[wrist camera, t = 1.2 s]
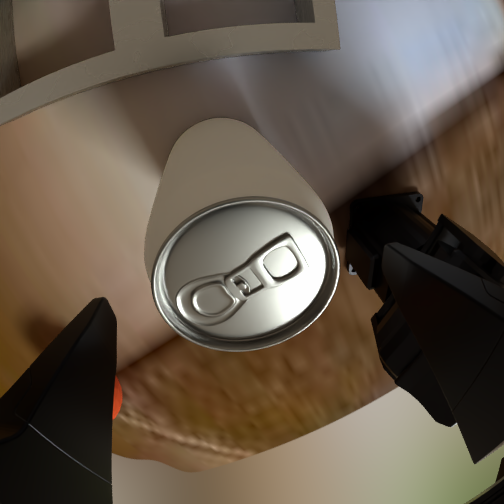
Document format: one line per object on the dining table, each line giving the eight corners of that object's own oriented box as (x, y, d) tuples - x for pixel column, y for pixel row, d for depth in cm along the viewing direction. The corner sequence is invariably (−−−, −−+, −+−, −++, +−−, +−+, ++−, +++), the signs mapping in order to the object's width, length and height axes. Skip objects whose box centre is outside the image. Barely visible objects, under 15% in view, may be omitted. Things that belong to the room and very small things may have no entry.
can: (147, 155, 18) (89, 268, 8) (237, 96, 17) (298, 131, 7) (205, 231, 21) (219, 381, 11) (288, 181, 20) (375, 300, 10)
